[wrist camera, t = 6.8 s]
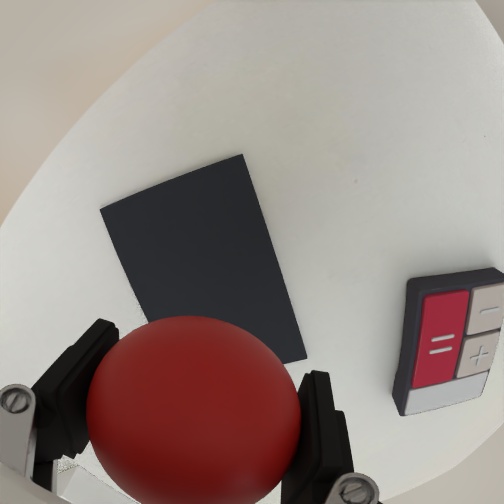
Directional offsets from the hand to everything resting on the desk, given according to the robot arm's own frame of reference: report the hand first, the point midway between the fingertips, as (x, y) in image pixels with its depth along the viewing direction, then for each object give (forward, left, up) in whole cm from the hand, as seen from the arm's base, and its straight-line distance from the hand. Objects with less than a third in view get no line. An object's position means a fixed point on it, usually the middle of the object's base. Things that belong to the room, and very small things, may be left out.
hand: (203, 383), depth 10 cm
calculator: (+16, +17, -18) cm, 29 cm away
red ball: (0, 0, +2) cm, 2 cm away
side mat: (+3, -5, -18) cm, 19 cm away
